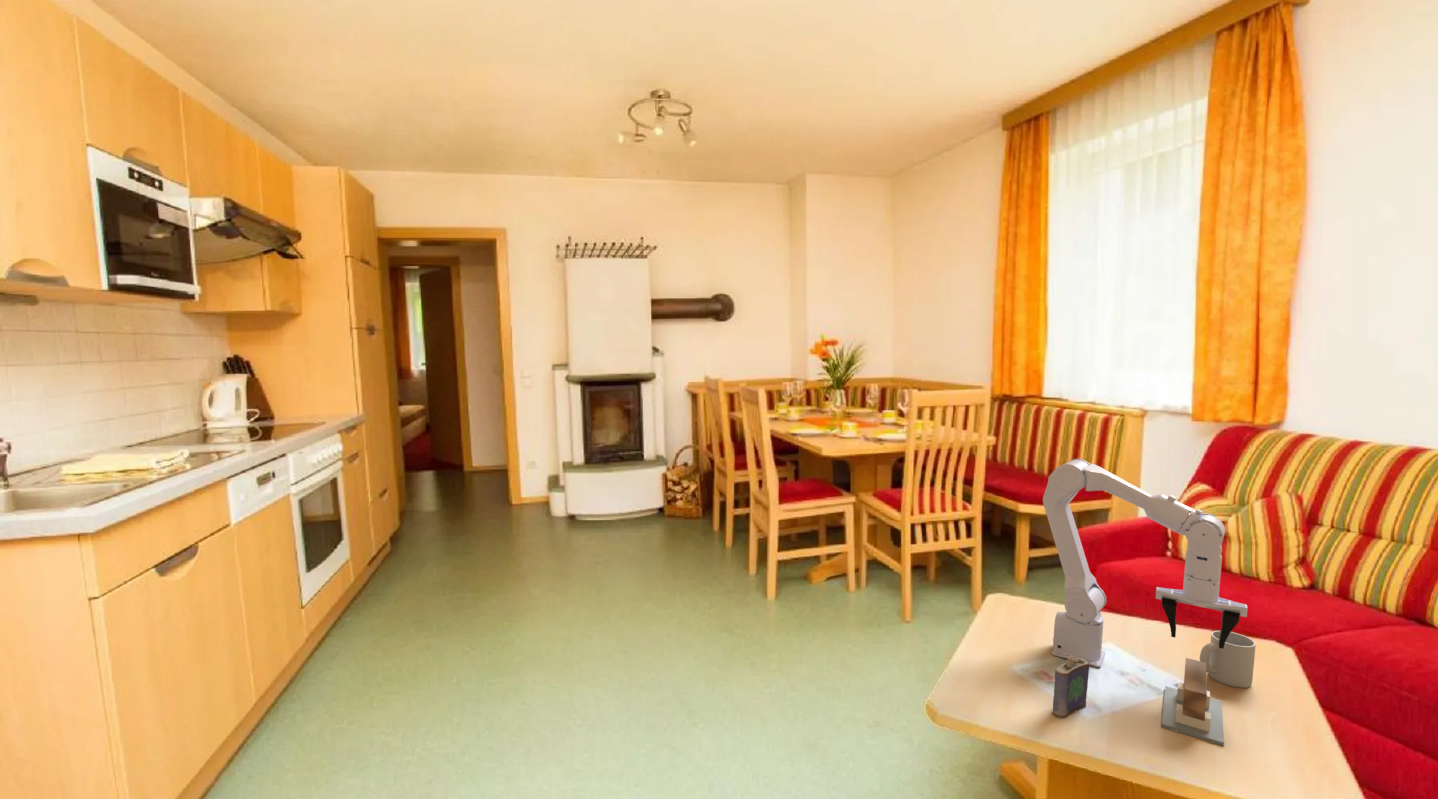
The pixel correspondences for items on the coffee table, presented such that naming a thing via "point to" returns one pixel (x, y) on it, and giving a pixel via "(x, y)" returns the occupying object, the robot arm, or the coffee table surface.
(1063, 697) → the flask
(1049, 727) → the coffee table surface
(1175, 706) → the stand
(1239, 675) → the cup
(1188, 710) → the case
